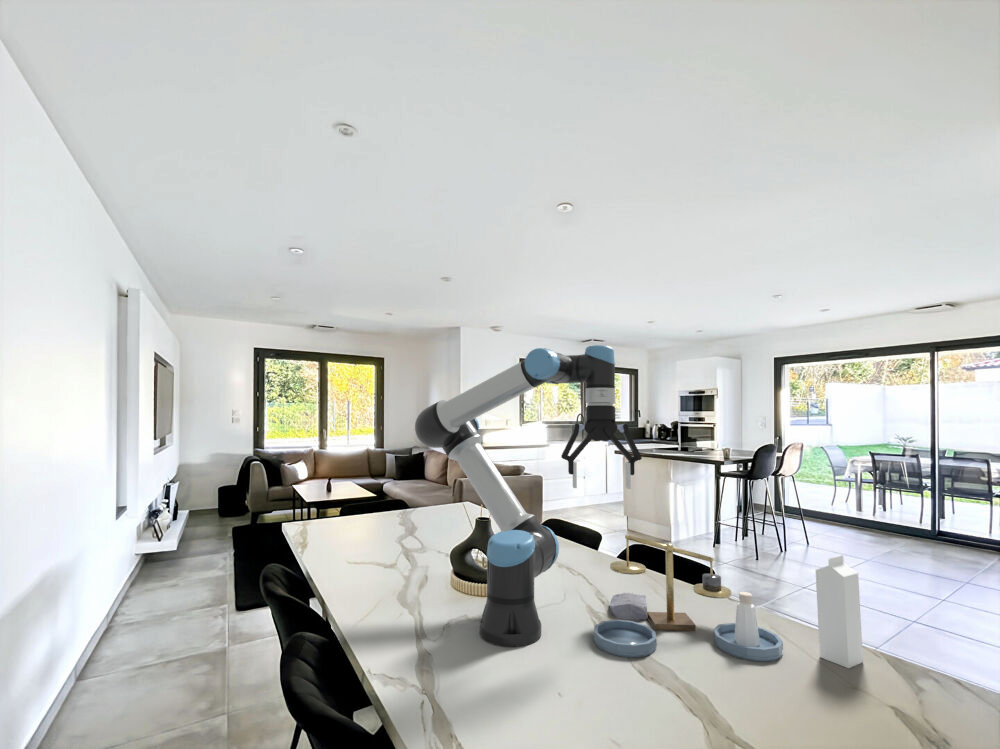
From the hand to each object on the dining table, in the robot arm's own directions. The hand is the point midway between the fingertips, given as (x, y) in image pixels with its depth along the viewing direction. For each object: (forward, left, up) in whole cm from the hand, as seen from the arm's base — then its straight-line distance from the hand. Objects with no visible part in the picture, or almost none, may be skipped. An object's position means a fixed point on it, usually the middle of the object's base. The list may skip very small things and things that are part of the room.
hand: (601, 488), depth 129 cm
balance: (+11, +15, -35) cm, 39 cm away
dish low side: (+30, +14, -35) cm, 48 cm away
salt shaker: (+30, +14, -34) cm, 47 cm away
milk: (+47, +22, -35) cm, 62 cm away
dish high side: (+8, -4, -35) cm, 36 cm away
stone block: (-1, +15, -35) cm, 38 cm away
